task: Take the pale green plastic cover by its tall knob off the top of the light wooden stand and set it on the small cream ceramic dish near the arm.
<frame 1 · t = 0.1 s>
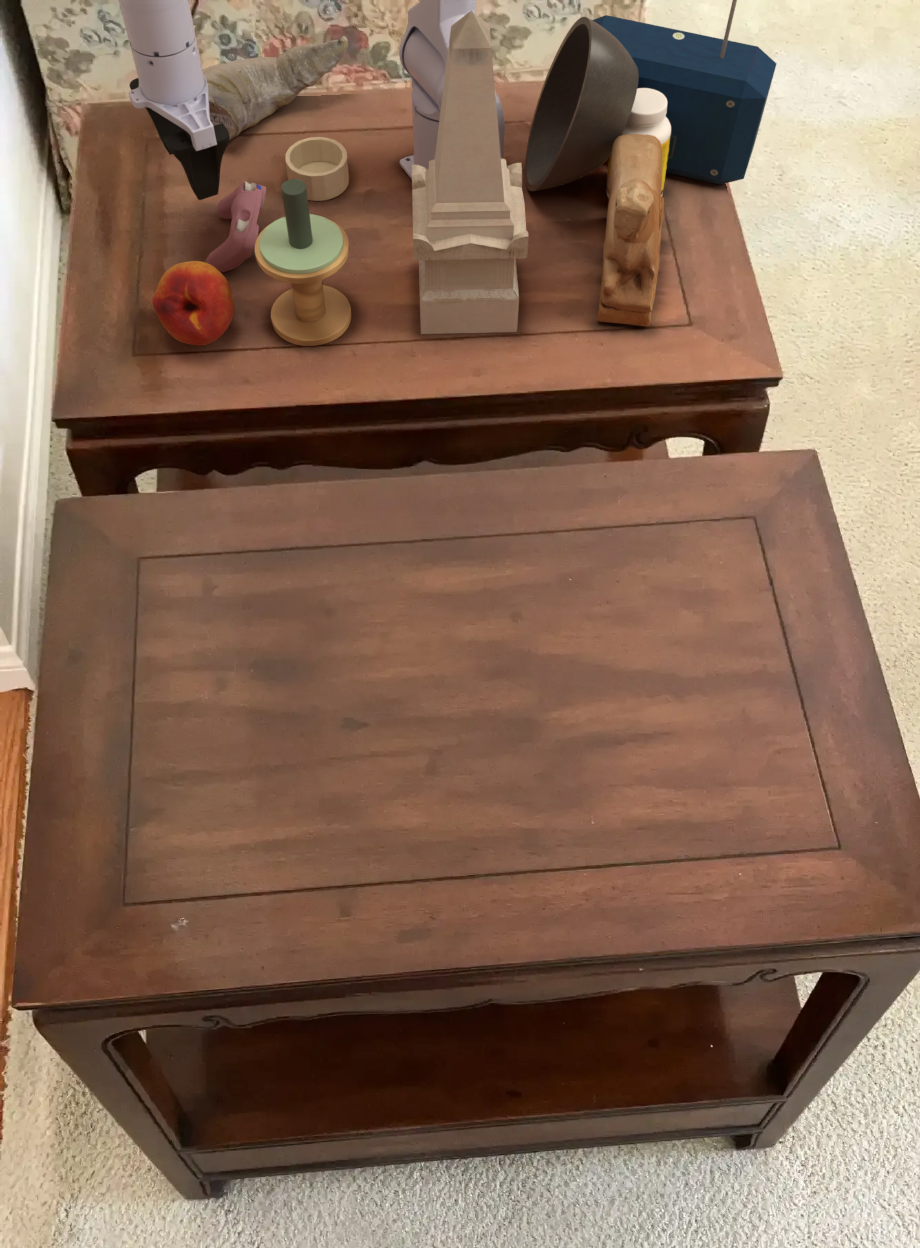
hand: (192, 172, 111), 10 cm above the table, tool pointing down, fingers open, 7 cm apart
pill bottle: (633, 196, 125), on the table, touching bowl
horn: (287, 116, 129), point 2 cm above the table
dish: (319, 181, 126), on the table
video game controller: (241, 246, 121), on the table
fruit: (201, 333, 114), on the table
sculpture: (630, 271, 119), on the table
stand: (311, 317, 115), on the table
radio: (654, 151, 129), on the table
cover: (293, 186, 102), point 15 cm above the table, touching stand
bowl: (614, 118, 118), point 9 cm above the table, touching pill bottle
miniature monument: (467, 300, 117), on the table
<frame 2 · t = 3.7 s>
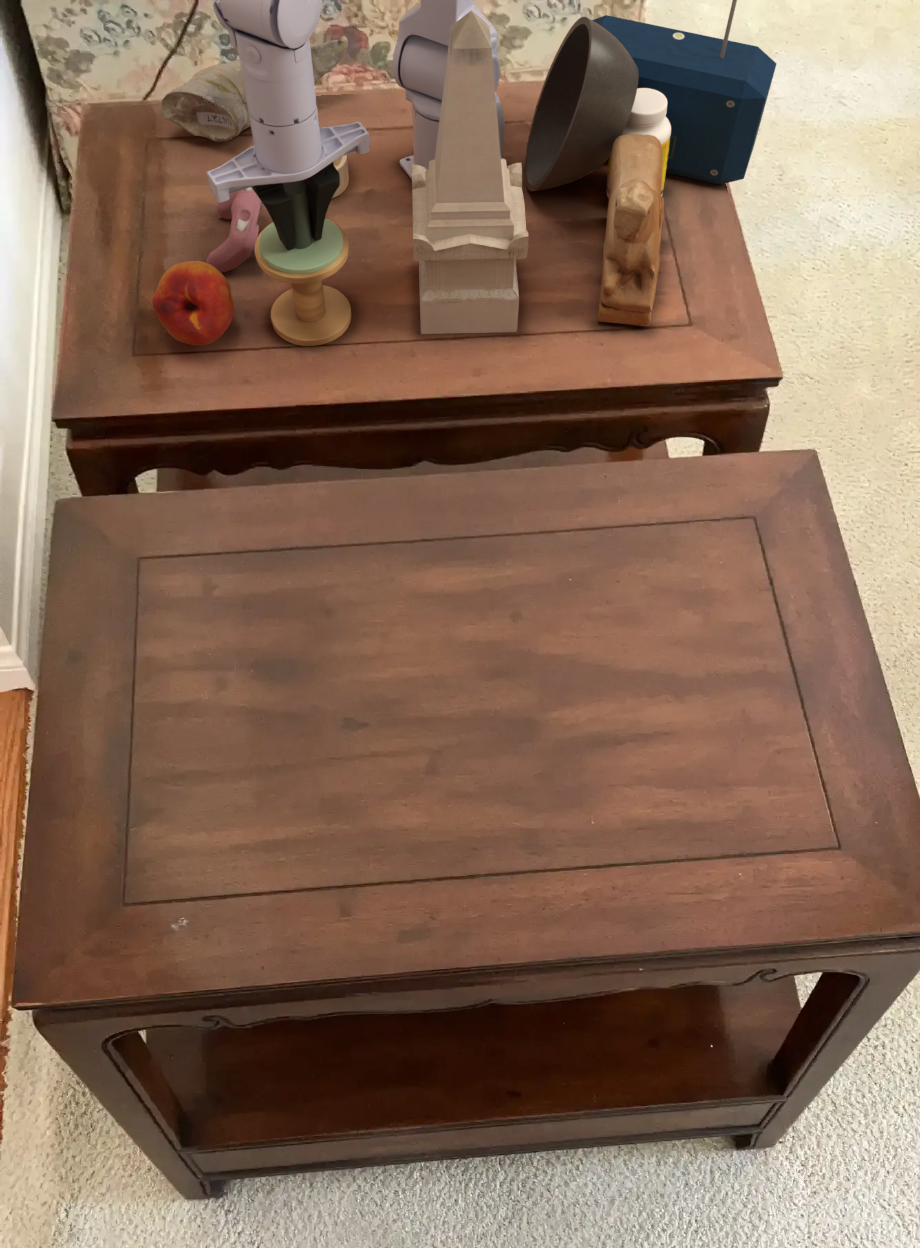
hand: (300, 238, 107), 10 cm above the table, tool pointing down, fingers closed on cover, 2 cm apart
cover: (293, 186, 102), point 16 cm above the table, touching gripper, stand
everything else where it was.
when the fingers open (4 cm above the table, at t = 8.2 s): cover stays where it is, resting on dish.
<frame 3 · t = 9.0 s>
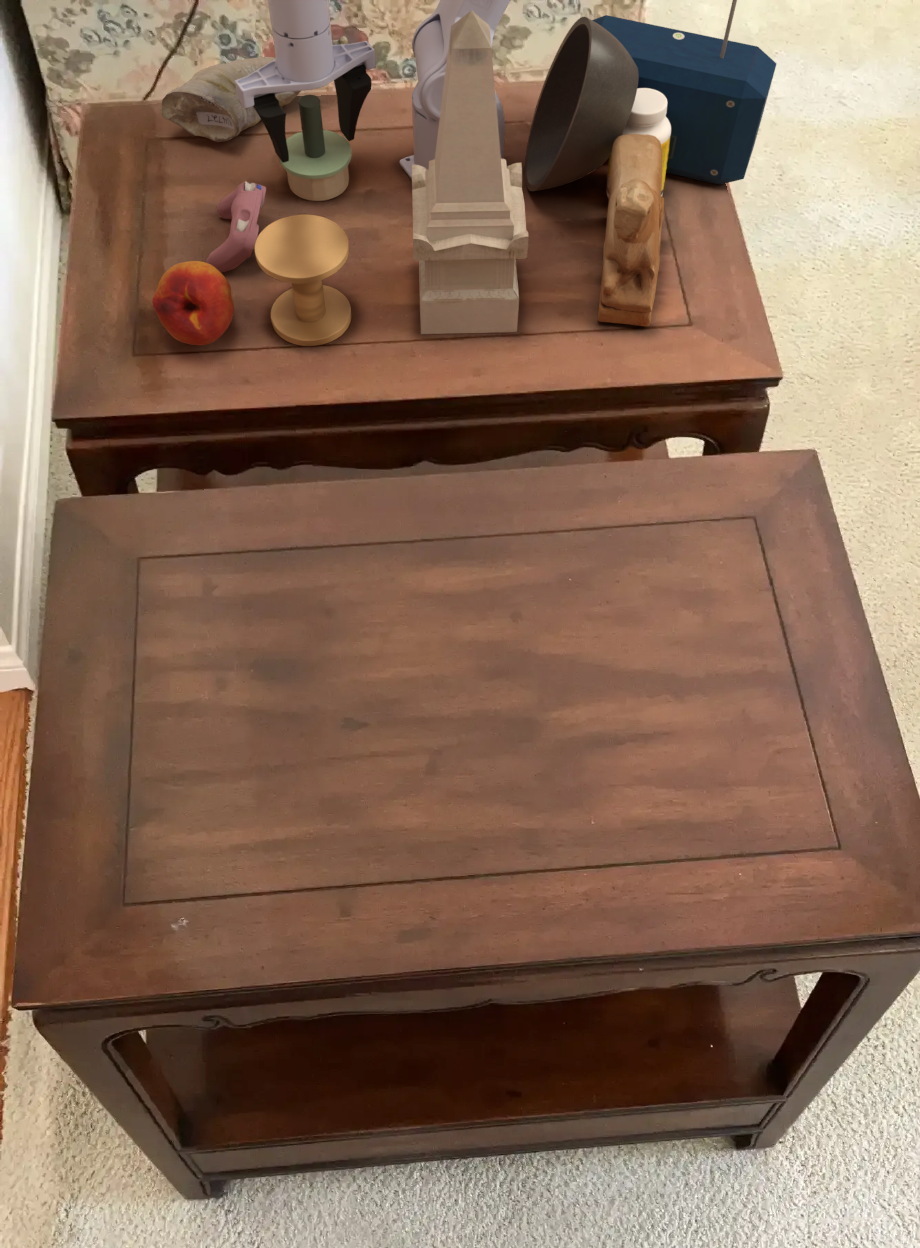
hand: (315, 145, 122), 4 cm above the table, tool pointing down, fingers open, 7 cm apart
cover: (309, 100, 118), point 10 cm above the table, touching dish
everything else where it was.
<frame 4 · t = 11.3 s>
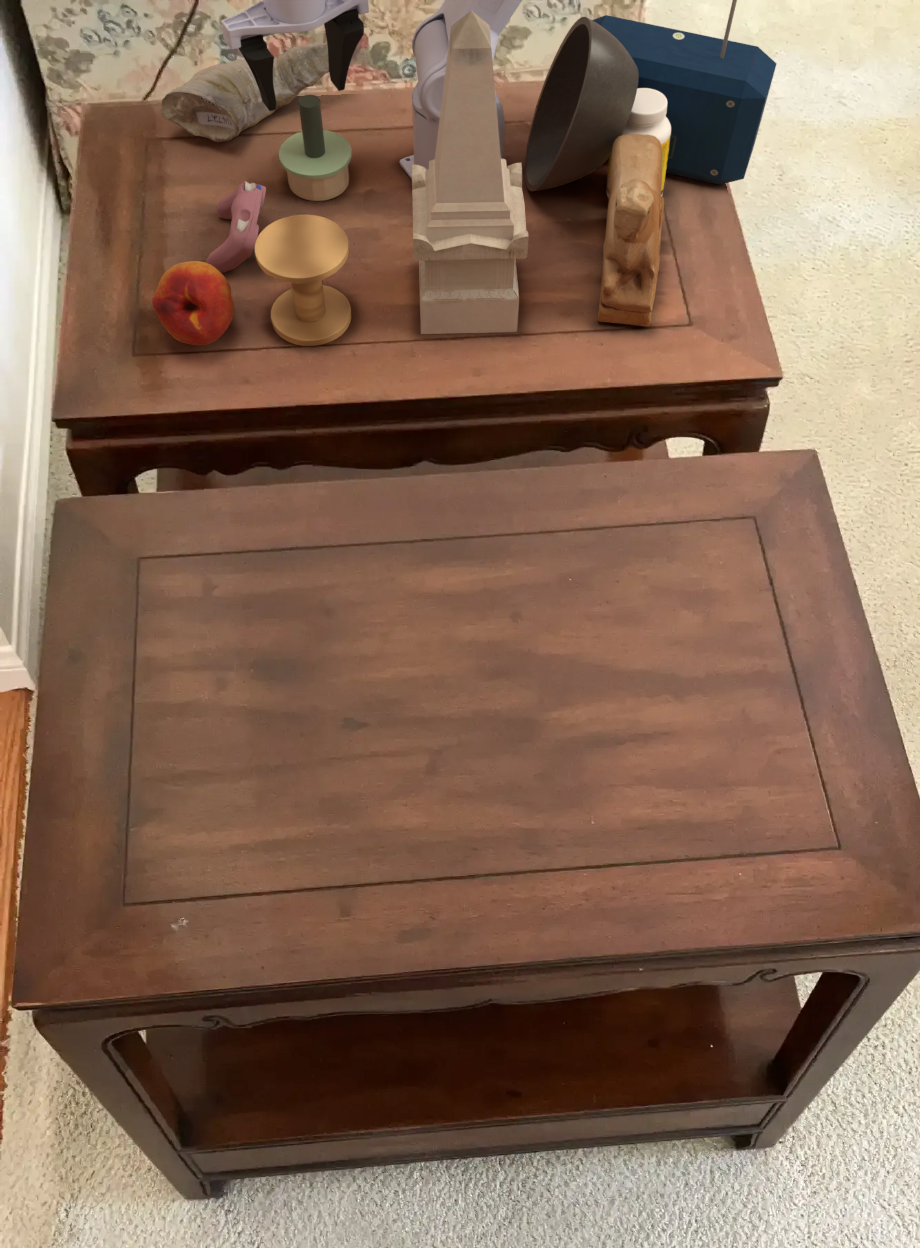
hand: (303, 94, 117), 10 cm above the table, tool pointing down, fingers open, 7 cm apart
nothing on the table moved.
at the end: cover 0.0 cm off-centre on the dish, point 9.7 cm above the dish's base; cover tilted 0°; the gripper is holding nothing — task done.
